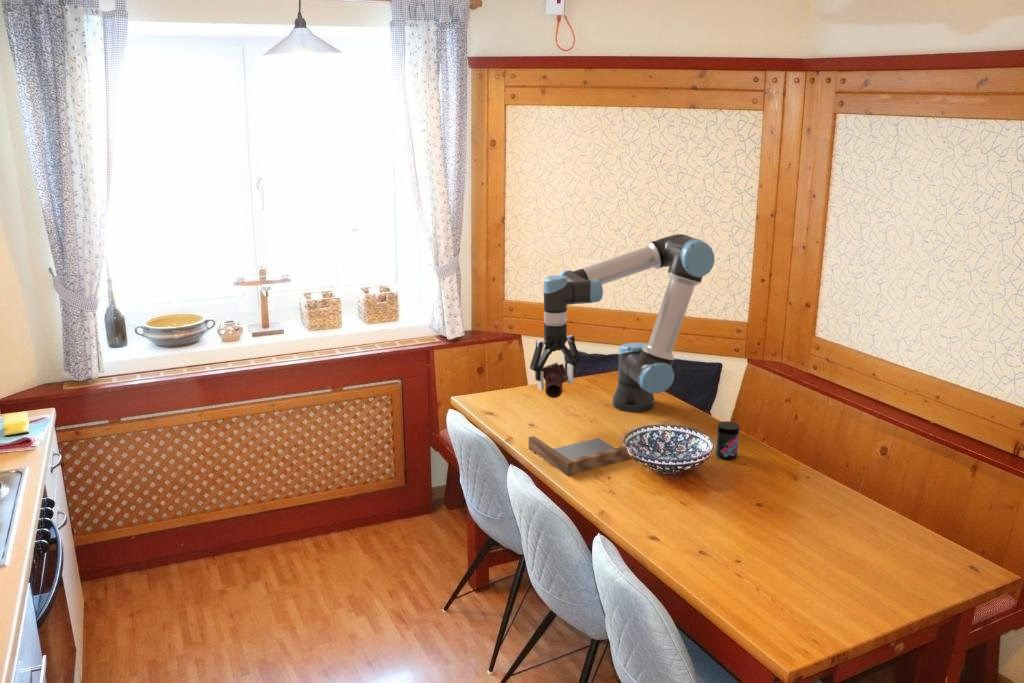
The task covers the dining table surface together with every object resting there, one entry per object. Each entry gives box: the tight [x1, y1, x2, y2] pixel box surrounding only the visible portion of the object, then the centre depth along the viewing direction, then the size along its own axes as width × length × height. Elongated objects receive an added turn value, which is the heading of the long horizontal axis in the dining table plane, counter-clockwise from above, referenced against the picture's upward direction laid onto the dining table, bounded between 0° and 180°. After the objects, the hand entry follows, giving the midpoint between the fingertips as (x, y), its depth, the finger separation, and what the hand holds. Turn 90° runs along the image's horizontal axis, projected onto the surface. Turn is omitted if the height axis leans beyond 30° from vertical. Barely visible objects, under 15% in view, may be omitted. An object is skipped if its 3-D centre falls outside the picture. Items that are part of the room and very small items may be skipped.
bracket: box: [541, 361, 568, 399], centre depth 288 cm, size 6×17×10 cm, turn 177°
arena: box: [528, 435, 633, 477], centre depth 273 cm, size 24×23×4 cm
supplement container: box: [715, 420, 741, 461], centre depth 270 cm, size 7×7×10 cm
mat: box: [553, 437, 616, 460], centre depth 276 cm, size 20×11×1 cm, turn 119°
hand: (555, 386), depth 289 cm, fingers closed on bracket, 11 cm apart
